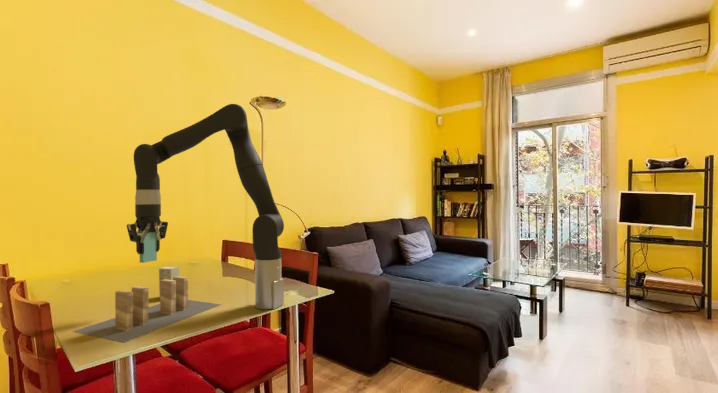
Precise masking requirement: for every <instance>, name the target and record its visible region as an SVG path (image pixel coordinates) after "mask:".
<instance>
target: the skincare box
mask: <svg viewBox="0 0 718 393" xmlns="http://www.w3.org/2000/svg"><path fill="white" fill-rule="evenodd" d="M176 276H180V266H168V265H166V266H164V267H159V268H158V281H159V282H158V284H159V286H158V288H159V293H160V280H164V279H167V280H173V277H176Z"/></svg>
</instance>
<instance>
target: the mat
mask: <svg viewBox="0 0 718 393" xmlns="http://www.w3.org/2000/svg"><path fill="white" fill-rule="evenodd" d="M219 306H222V304H220V303H213V302H207V301H200V300H192V299H191V300H190V299H188V309H186V310H178V309H176V313H175V314H172V315H169V314H163V313H160V303H158V304H155V305H151V306H149V312H148V323H147V324H145V325H140V324H135V323H133V329H131V330H128V331H125V330H120V329H115V317H114V318H110V319H107V320H105V321H104V320H103V321H101V322H98V323H95V324H92V325H89V326H85V327H82V328H78V329H75V330H73V331H72V330H71V332H72V333H77V334H80V335H81V334H82V335H86V336H89V337H96V338H99V339H100V338H101V339H104V340H109V341H114V342H118V343H122V344H123V343H127V342H130V341H133V340H135V339H138V338H140V337H143V336H145V335H148V334H150V333H152V332H156V331H158V330H160V329H163V328H167V327H168V326H171V325H173V324H175V323H178V322H181V321H183V320H186V319H189V318H191V317H194V316H196V315H199V314H202V313H204V312H206V311H209V310H212V309H215V308H216V307H219Z"/></svg>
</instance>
